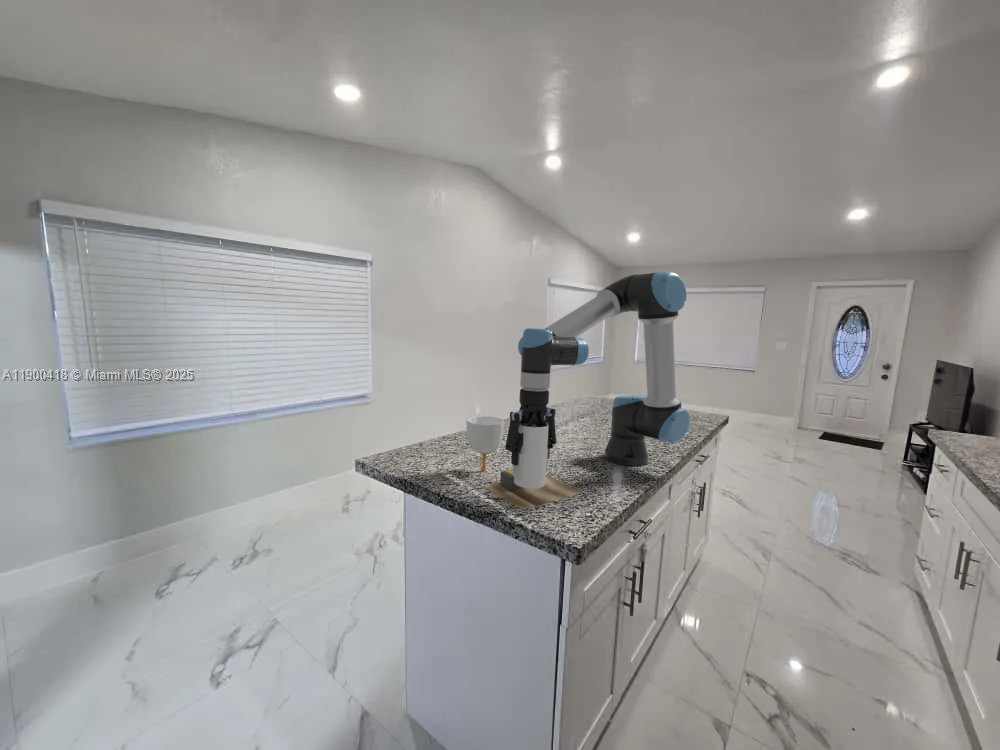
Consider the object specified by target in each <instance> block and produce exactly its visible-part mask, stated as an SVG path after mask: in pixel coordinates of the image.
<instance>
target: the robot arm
mask: <svg viewBox="0 0 1000 750" xmlns="http://www.w3.org/2000/svg"><path fill="white" fill-rule="evenodd" d="M686 301H687V288H686V285H685V282H684V280H683V279H682V277H681V276H679V275H678V274H677V273H675V272H671V271H658V272H651V273H642V274H641V273H639V274H631V275H627V276H625V277H622V278H620V279H618V280H617V281H615V282H613V283H611V284H609V285H607V286H605V287H604V288H602V289H600V290H599V291H598V292H597V294H596V296H594V298H592V299H590V300H589V301H588V302H586V303H584V304H583V305H581V306H579V307H578V308H576V309H574V310H573V311H570V313H567V314H566V315H564V316H563V317H561V318H559V319H558V320H556V321H555V322H553V323H552V324H550V325H548V326H547V327H545V328H533V327H532V328H529V327H528V328H525V329H524V330H523V333H522V337H521V338H520V339H519V341H518V344H517V349H518V353H519V354H520V356H521V358H520V359H521V364H520V365H521V366H520V368H521V369H520V390H519V403H520V408H519V410H518V411H515V412H514V411H510V413H509V420H510V421H509V426H508V432H507V435H506V441H505V442H506V443H505V446H504V449H505V450H506V451H508V452H510V453H511V459H510V460H511V461H510V462H511V463H510V464H511V465H512V469H513V474H512V475H513V476H515V477H517V478H519V479H520V478H521V473H522V454H523V453H520V451H521V448H522V445H523V436H524V433H519V432H518V430H519V425H522V426H527V427H531V426H532V425H534V424H535V425H536V426H537V427H545V426H546V423H548V425H549V427H548V444H547V461H546V473H548V463H549V461H548V460H549V459H550V452H551V449H553V448H554V445H556V444H557V434H556V431H557V430H556V420H555V417H556V409H555V408H551V407H548V405H549V402H550V401H549V400H550V399H549V398H550V391H549V389H550V384H551V383H550V382H551V381H550V380H551V369H552V368H551V367H552V366H573V367H574V366H578V365H582V364H584V363H586V361H587V359H588V357H589V351H590V350H589V349H590V348H589V347H590V346H589V345H588V342H587V341H586V339H584V338H581V337H580V336H581V335H583V334H584V333H585V332H587V331H589V330H590V329H592V328H593V327H595V326H597V325H598V324H600V323H601V322H602V321H605V319H607V318H614V317H616V316H618V315H620V314H623V313H627V312H637V317H638V318H637V319H638V320H639V321H640V322H642V324H643V336H644V337H643V338H644V339H643V340H644V352H645V353H644V354H645V374H646V378H645V379H646V389H647V390H646V392H647V393H646V394H647V395H620V396H616V397H615V398H614V399H613V403H612V411H611V427H610V431H611V432H610V437H609V440H608V441H607V445H606V446H605V449H604V456H603V457H604V458H605V459H606V460H608V461H609V462H612V463H614V464H617V465H623V466H644V465H647V464H648V463H649V453H648V449H647V445H646V439H645V438H650V439H653V440H657V441H660V442H662V443H669V444H675V443H678V442H679V441H681V440H682V439H683V438H684V436H685V435H686V433H688V430H689V427H690V424H691V414H690V413H689V412H688V410H687V409H685V408H683V407H682V400H681V398H679V396H677V394H676V393H677V392H676V389H677V388H676V370H675V369H676V368H675V367H676V366H675V346H674V345H675V338H674V321H675V320H676V319H677V317H678V316H679V311H680V310H681V309H683V308H684V306H685V302H686ZM524 423H526V424H524ZM516 447H517V448H516Z"/></svg>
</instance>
